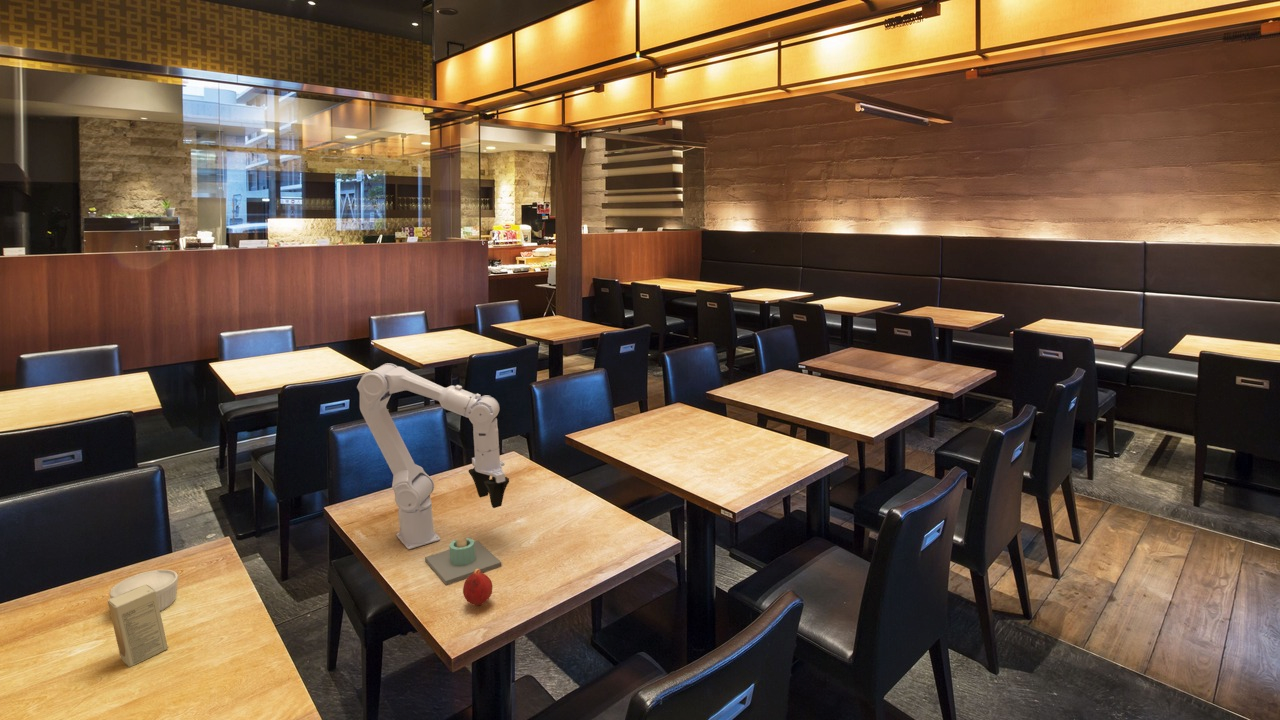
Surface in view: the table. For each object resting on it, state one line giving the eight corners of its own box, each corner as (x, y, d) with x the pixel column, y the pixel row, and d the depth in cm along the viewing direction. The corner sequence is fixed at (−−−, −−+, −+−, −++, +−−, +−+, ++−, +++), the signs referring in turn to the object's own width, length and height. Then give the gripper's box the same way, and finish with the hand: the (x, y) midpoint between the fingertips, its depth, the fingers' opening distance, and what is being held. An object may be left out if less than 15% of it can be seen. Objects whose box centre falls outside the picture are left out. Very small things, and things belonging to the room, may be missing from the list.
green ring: (447, 558, 151) (445, 542, 151) (469, 551, 155) (468, 535, 154) (456, 568, 147) (455, 551, 146) (479, 560, 150) (477, 544, 150)
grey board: (425, 561, 152) (424, 557, 152) (478, 544, 160) (478, 540, 160) (446, 585, 142) (445, 581, 142) (501, 566, 150) (501, 562, 150)
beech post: (456, 559, 151) (454, 539, 150) (465, 556, 152) (464, 536, 151) (460, 563, 149) (458, 542, 148) (469, 560, 151) (467, 539, 150)
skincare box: (159, 641, 124) (148, 582, 122) (169, 649, 122) (158, 589, 119) (118, 659, 119) (105, 598, 117) (127, 668, 117) (115, 606, 114)
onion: (486, 615, 131) (483, 578, 130) (459, 612, 132) (456, 575, 131) (497, 599, 137) (495, 563, 135) (472, 596, 138) (469, 561, 136)
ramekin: (194, 596, 139) (190, 573, 138) (140, 626, 129) (135, 602, 128) (156, 587, 143) (152, 565, 142) (101, 616, 133) (96, 592, 132)
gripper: (515, 452, 153) (518, 506, 156) (489, 436, 165) (492, 487, 168) (487, 459, 149) (491, 515, 152) (462, 442, 161) (466, 494, 163)
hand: (490, 501), depth 159 cm, fingers open, 7 cm apart
